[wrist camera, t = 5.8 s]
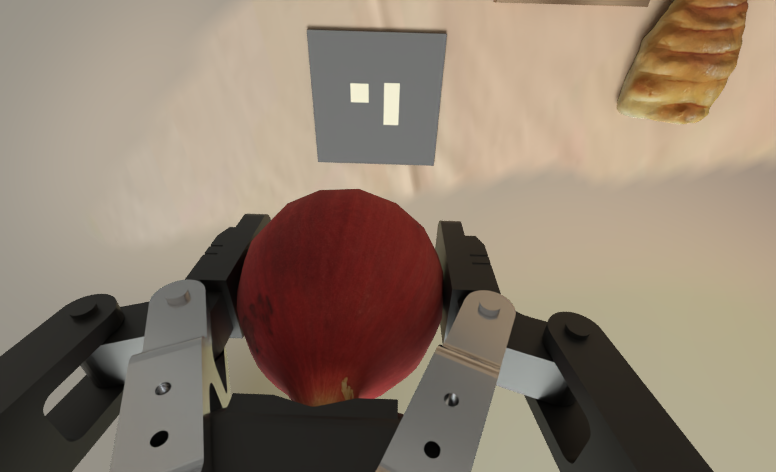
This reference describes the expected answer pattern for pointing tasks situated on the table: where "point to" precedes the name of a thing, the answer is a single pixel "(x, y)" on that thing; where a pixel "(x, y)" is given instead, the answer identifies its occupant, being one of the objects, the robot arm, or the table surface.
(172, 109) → the table surface
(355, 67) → the mat
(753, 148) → the table surface
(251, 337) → the onion
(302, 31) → the table surface
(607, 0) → the beige coaster
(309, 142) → the table surface
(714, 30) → the pastry
